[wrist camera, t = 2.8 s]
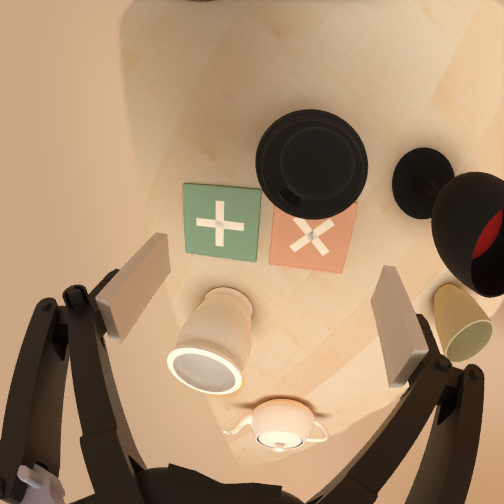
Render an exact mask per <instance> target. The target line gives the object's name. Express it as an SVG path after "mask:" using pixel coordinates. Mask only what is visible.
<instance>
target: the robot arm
mask: <svg viewBox="0 0 504 504" xmlns="http://www.w3.org/2000/svg"><path fill="white" fill-rule="evenodd" d="M191 1H212V0H191ZM170 272H171V271H170V262H169V251H168V239H167V234H162V233H155V234H154V235H153V236H152V237H151V238H150V239H149V240H148V241H147V242H146V243H145V245H144V246H142V247H141V249H140V250H139V251H138V252H137V253H136V254H135V255H134V256H133V257H132V258H131V259H130V260H129V261H128V262H127V263H126V264H125V265H124V266H123V267H122V268H121V270H119V269H115V270H113V271H111V272H110V273H108V274H107V275H106V276H105V278H104V279H103V280H102V281H101V282H100V283H99V284H98V285H97V286H96V287H95V288H94V289H93V290H92V291H91V293H90V294H89V295H88V293H87V290H86V287H84V286H83V285H73V286H70V287H68V288H67V289H66V290H65V291H64V292H63V295H62V297H63V299H64V302H65V305H66V306H58V304H57V302H56V300H55V299H54V298H45V299H43V300H41V301H40V302H39V303H38V304H37V305H36V307H35V310H34V312H33V315H32V318H31V320H30V323H29V326H28V328H27V331H26V334H25V337H24V340H23V343H22V346H21V349H20V353H19V356H18V359H17V363H16V366H15V370H14V374H13V378H12V382H11V386H10V390H9V395H8V399H7V405H6V410H5V415H4V422H3V428H2V437H1V440H0V499H1V500H2V501H5V502H7V503H9V504H65V502H64V500H63V497H64V496H65V491H64V489H63V487H62V484H61V482H60V480H59V479H58V476H59V469H60V443H61V422H62V409H63V398H64V390H65V382H66V375H67V368H68V362H69V357H70V361H71V370H72V378H73V385H74V392H75V398H76V403H77V409H78V414H79V419H80V423H81V428H82V433H83V436H81V437H80V445H81V449H82V453H83V457H84V460H85V464H86V467H87V470H88V474H89V477H90V480H91V483H92V486H93V489H94V491H95V494H92V495H90V496H88V497H85V498H83V499H80V500H78V501H75V502H72V503H70V504H304V503H303V502H302V501H301V500H300V499H298V498H297V497H295V496H294V495H292V494H290V493H287V492H285V491H282V486H277V485H267V484H260V483H239V484H223V483H220V482H217V481H215V480H213V479H211V478H209V477H207V476H205V475H203V474H201V473H199V472H197V471H194V470H190V469H187V468H184V467H180V466H177V465H173V464H169V466H168V468H166V467H162V468H161V467H159V468H151V469H147V467H146V466H145V463H144V461H143V460H142V458H141V456H140V454H139V453H138V450H137V448H136V446H135V443H134V440H133V437H132V435H131V432H130V429H129V426H128V423H127V421H126V418H125V415H124V412H123V408H122V405H121V402H120V399H119V395H118V392H117V388H116V385H115V381H114V377H113V374H112V370H111V366H110V362H109V357H108V353H107V349H106V344H105V340H104V337H103V335H104V334H105V333H106V331H107V333H108V335H109V338H110V339H111V340H114V341H117V342H120V343H122V342H123V340H124V339H125V338H126V336H127V334H128V333H129V331H130V330H131V328H132V327H133V325H134V324H135V322H136V321H137V319H138V318H139V316H140V315H141V313H142V312H143V310H144V309H145V308H146V306H147V304H148V303H149V302H150V300H151V299H152V297H153V296H154V294H155V293H156V292H157V290H158V289H159V287H160V286H161V284H162V283H163V282H164V280H165V279H166V277H167V276H168V274H169V273H170ZM371 305H372V309H373V313H374V317H375V321H376V325H377V329H378V334H379V338H380V343H381V347H382V352H383V357H384V362H385V367H386V373H387V378H388V384H389V387H403V386H404V385H405V383H406V382H407V381H408V382H409V388H408V389H407V390H406V392H405V393H404V394H403V395H402V396H401V398H400V401H399V402H398V404H397V405H396V406H395V408H394V409H393V411H392V412H391V413H390V414H389V416H388V417H387V418H386V420H385V421H384V422H383V424H382V425H381V426H380V428H379V429H378V430H377V431H376V433H375V434H374V435H373V436H372V438H371V439H370V440H369V441H368V442H367V443H366V445H365V446H364V447H363V448H362V449H361V450H360V451H359V453H358V454H357V455H356V456H355V457H354V458H353V459H352V460H351V461H350V462H349V463H348V465H347V466H346V467H345V468H344V469H343V470H342V471H341V472H340V473H339V474H338V475H337V476H336V477H335V478H334V479H333V480H332V481H331V482H330V483H329V484H328V485H326V486H325V487H324V488H323V489H322V490H321V491H320V492H318V493H317V494H316V495H315V496H313V497H312V498H311V499H310V500H309V501H307V502H306V503H305V504H373V503H374V502H375V501H376V499H377V497H378V492H379V491H380V489H381V488H382V487H383V485H384V484H385V483H386V481H387V480H388V479H389V478H390V477H391V475H392V474H393V473H394V471H395V470H396V468H397V467H398V466H399V464H400V463H401V461H402V460H403V458H404V457H405V456H406V454H407V453H408V451H409V449H410V448H411V447H412V445H413V444H414V442H415V440H416V439H417V437H418V435H419V434H420V432H421V431H422V429H423V427H424V425H425V424H426V422H427V420H428V418H429V416H430V415H431V413H432V411H433V409H434V407H435V406H436V405H437V408H436V413H435V416H434V421H433V424H432V428H431V432H430V436H429V439H428V443H427V446H426V449H425V452H424V455H423V458H422V461H421V464H420V467H419V470H418V472H417V475H416V478H415V480H414V483H413V485H412V488H411V490H410V493H409V495H408V497H407V499H406V502H405V504H464V503H465V500H466V497H467V493H468V490H469V486H470V482H471V478H472V474H473V470H474V466H475V461H476V456H477V450H478V445H479V438H480V431H481V423H482V413H483V401H484V400H483V399H484V373H483V372H482V370H481V369H480V368H479V367H478V366H477V365H475V364H469V365H467V366H466V368H465V369H464V370H462V369H458V368H455V367H452V363H451V362H450V360H449V359H448V358H447V357H446V356H444V355H442V354H440V352H439V349H438V346H437V344H436V341H435V338H434V336H433V333H432V331H431V330H430V326H429V323H428V321H427V320H426V319H425V318H424V316H423V315H422V314H415V311H414V309H413V306H412V304H411V302H410V299H409V297H408V294H407V292H406V290H405V288H404V285H403V283H402V281H401V279H400V276H399V274H398V272H397V270H396V268H395V267H393V266H386V265H384V266H383V269H382V272H381V275H380V278H379V281H378V283H377V286H376V289H375V291H374V294H373V297H372V299H371Z"/></svg>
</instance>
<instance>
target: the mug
mask: <svg viewBox="0 0 504 504" xmlns="http://www.w3.org/2000/svg"><path fill="white" fill-rule="evenodd" d="M434 313H435V324H436V329H437V332H438V336H439V339H440V342H441V345H442V348H443V352H444V355H445V356H446V357H447V358H448V359H449V360H450V362H451V363H462V362H465V361H468V360H470V359H471V358H473V357H475V356H476V355H478V354H479V353H480V352H481V351H482V350H483V349H484V348H485V347H486V346H487V344H488V343H489V342H490V340H491V338H492V336H493V332H494V326H493V323H492V322H491V320H490V319H489V318H488V316H487V315H486V314H485V312H484V311H483V310H482V308H481V307H480V306H479V304H478V303H477V302H476V301H475V300H474V299H473V298H472V297H471V296H470V295H468V294H467V293H466V292H464V291H462V290H461V289H459V288H458V287H456V286H454V285H453V284H445V285H443V286H441V287H440V288H439V289H438V290H437V291H436V293H435V295H434Z"/></svg>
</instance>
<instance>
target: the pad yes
mask: <svg viewBox="0 0 504 504" xmlns="http://www.w3.org/2000/svg"><path fill="white" fill-rule="evenodd" d="M260 203H261V189H251V188H241V187H230V186H218V185H205V184H191V183H184V184H183V209H184V232H185V249H186V253H191V254H198V255H205V256H212V257H219V258H227V259H234V260H241V261H249V262H256V256H257V243H258V230H259V217H260Z"/></svg>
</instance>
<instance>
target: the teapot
mask: <svg viewBox="0 0 504 504" xmlns="http://www.w3.org/2000/svg"><path fill="white" fill-rule="evenodd" d="M246 424H251V427H252V431H253V434H254V437H255V439H256V441H257V442H258V443H259V444H260V445H262V446H265V447H268V448H272V449H273V451H276V452H283V451H284V450H288V449H295V448H298V447H300V446H302V445H303V444H304V443H305V441H307V442H323V441H325V440H327V439H328V436H329V434H328V431H327V429H326V428H325V427H324V426H323V425H322V424H321V423H319V422H318V421H316V420H314V415H313V413H312V411H311V410H310V409H309V408H308V407H306V406H305V405H303V404H302V403H300V402H298V401H295V400H290V399H273V400H269V401H267V402H265V403H262V404H260V405H259V406H257V407H256V408H255V409H254V410H253V412H248V413H246V414H244V415H243V416H241V418H240V419H239V420H238V422H237V424H236V425H235V426H234V427H233V428H232V429H230V430H227V431H223V432H224V433H227V434H235V433H237V432H238V431H239V430H240V429H241V428H242V427H243V426H244V425H246ZM314 425H315V426H317V427H318V428H319V429H320V430H321V431H322V433H323V436H324V437H322V438H309V435H310V433H311V431H312V429H313V426H314Z"/></svg>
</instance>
